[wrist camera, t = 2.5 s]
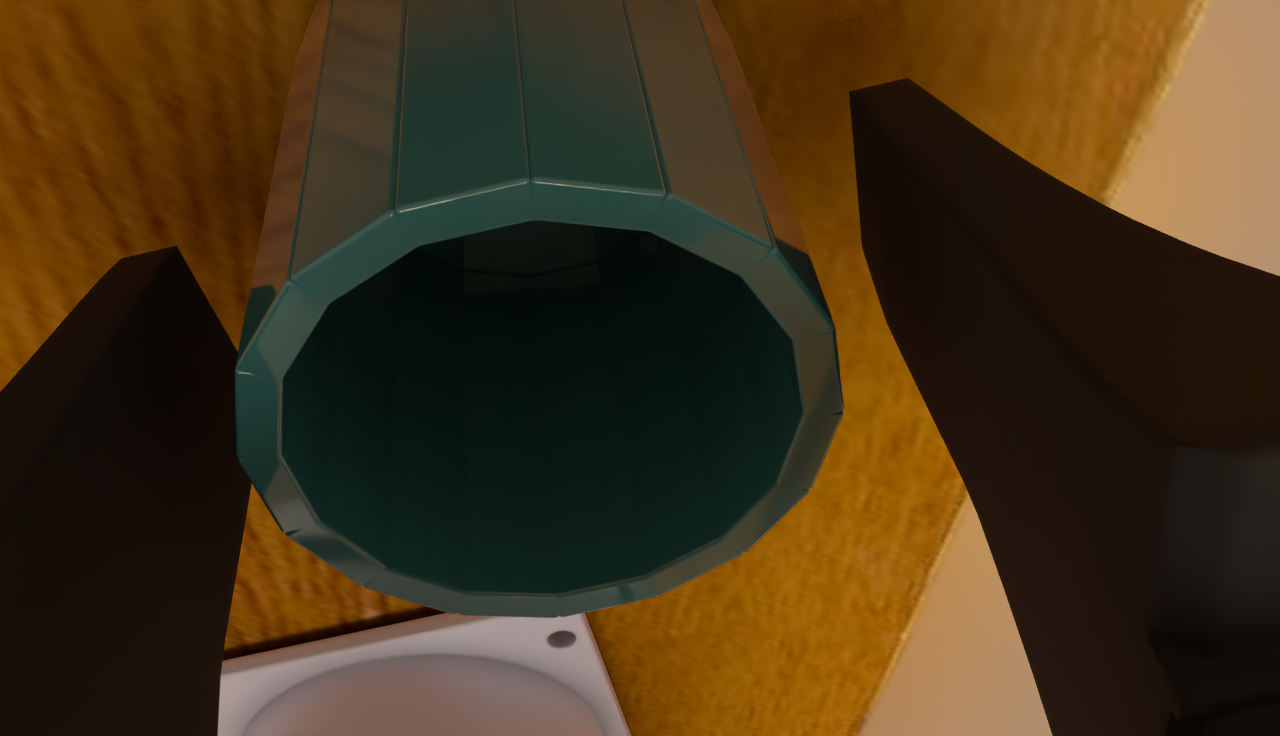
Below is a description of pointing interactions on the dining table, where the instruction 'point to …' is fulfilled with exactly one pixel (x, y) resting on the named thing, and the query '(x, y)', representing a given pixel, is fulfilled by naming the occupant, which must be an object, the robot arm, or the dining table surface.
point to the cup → (529, 306)
